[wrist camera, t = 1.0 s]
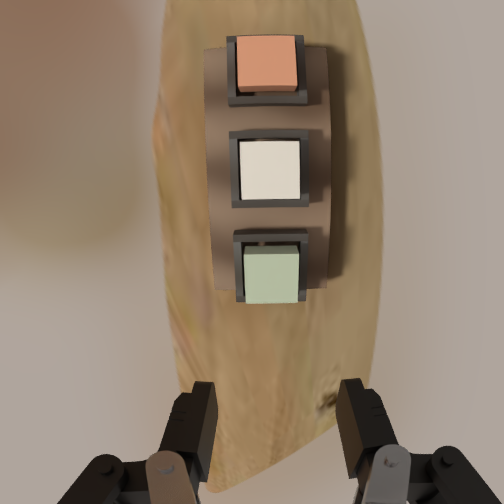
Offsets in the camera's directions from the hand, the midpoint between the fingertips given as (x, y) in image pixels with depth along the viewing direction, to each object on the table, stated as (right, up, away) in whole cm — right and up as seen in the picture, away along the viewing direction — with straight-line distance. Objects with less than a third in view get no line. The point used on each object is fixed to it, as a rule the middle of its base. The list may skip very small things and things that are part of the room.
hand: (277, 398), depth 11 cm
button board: (0, +13, +14) cm, 19 cm away
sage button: (+1, +5, +13) cm, 14 cm away
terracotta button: (0, +20, +8) cm, 21 cm away
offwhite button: (0, +12, +11) cm, 16 cm away
